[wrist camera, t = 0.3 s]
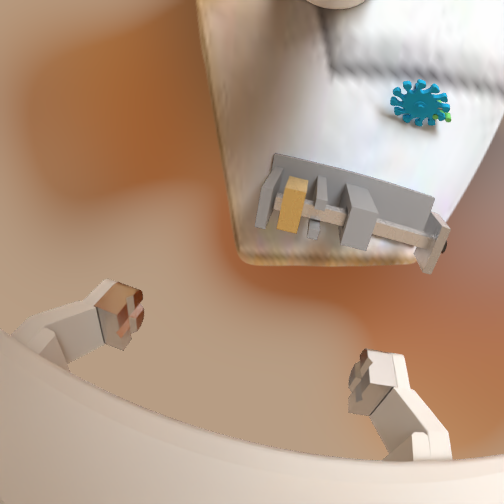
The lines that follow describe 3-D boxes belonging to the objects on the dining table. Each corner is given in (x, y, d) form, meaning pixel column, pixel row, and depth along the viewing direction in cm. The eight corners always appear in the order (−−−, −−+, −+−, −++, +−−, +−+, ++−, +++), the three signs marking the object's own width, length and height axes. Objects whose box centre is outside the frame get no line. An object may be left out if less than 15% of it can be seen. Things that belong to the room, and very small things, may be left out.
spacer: (289, 175, 47) (285, 187, 42) (308, 180, 47) (306, 192, 41) (281, 212, 50) (276, 228, 45) (299, 217, 50) (296, 233, 44)
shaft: (283, 170, 46) (277, 181, 41) (446, 216, 43) (459, 232, 38) (273, 217, 50) (267, 233, 45) (429, 257, 47) (438, 276, 42)
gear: (379, 111, 43) (410, 74, 33) (380, 88, 44) (407, 52, 35) (432, 139, 44) (467, 110, 34) (430, 115, 45) (461, 86, 36)
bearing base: (275, 153, 52) (260, 172, 40) (433, 196, 49) (461, 228, 37) (265, 205, 57) (249, 238, 45) (415, 244, 54) (435, 284, 42)
